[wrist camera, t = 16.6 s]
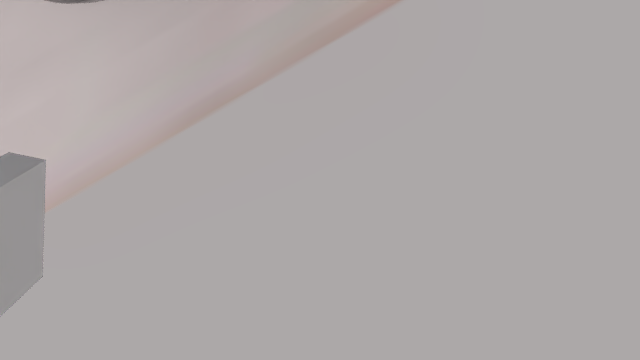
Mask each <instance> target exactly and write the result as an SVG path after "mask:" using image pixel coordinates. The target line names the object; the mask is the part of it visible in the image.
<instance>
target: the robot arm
mask: <svg viewBox="0 0 640 360" xmlns="http://www.w3.org/2000/svg"><path fill="white" fill-rule="evenodd" d="M45 1H50V2H56V3H91V2H98V1H103V0H45ZM45 173H46V160H44V159H39V158H34V157H29V156H24V155H20V154H15V153H10V152H8V153H7V154H5V155H3V156H1V157H0V317H1V316H2V315H3V314H4V313H5V312H6V311H7V310H8V309H9V308H10V307H11V306H12V305H13V304H14V303H15V302H16V301H17V300H19V299H20V298H21V296H23V295H24V294H25V293H26V292H27V291H28V290H29V289H30V288H31V287H32V286H33V285H34V284H35V283H36V282H37V281H38V280H40V279H41V278H42V277H43V247H44V210H45Z"/></svg>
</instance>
